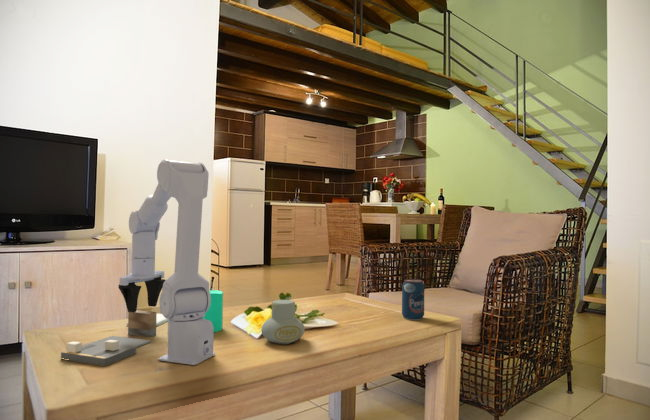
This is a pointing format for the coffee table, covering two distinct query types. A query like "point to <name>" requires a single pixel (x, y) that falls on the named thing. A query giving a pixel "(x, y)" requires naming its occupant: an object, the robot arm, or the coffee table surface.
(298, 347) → the coffee table surface
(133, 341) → the tool pad
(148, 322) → the bar
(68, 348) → the tab
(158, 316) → the external hard drive
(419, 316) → the soda can
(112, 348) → the tab
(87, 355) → the switch board
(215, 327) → the candle
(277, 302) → the air freshener
